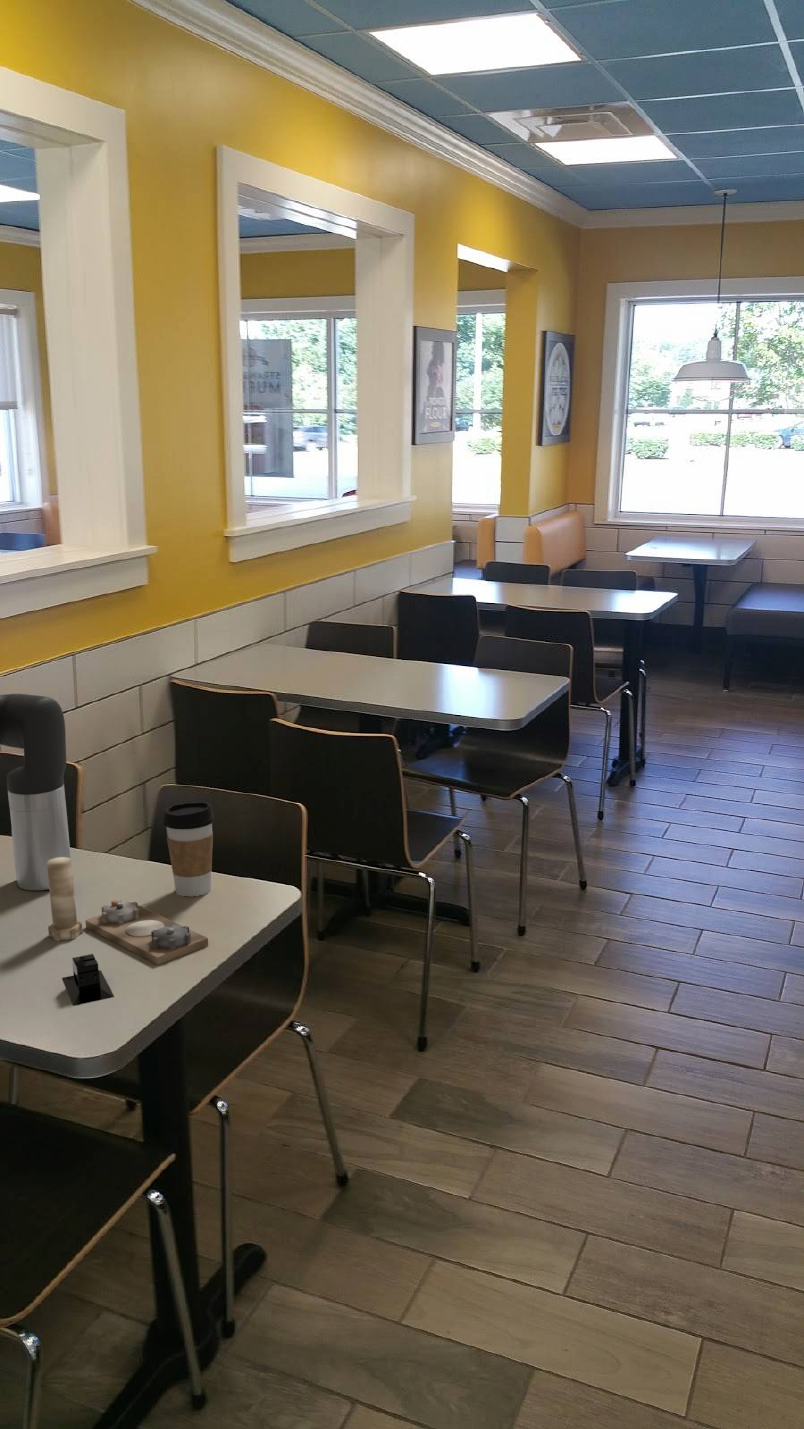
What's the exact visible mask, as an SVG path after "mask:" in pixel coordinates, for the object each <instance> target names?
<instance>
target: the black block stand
mask: <svg viewBox="0 0 804 1429" xmlns="http://www.w3.org/2000/svg"><path fill="white" fill-rule="evenodd" d="M71 959H72V972H73V975H68V976H65V977H62V978H61V980H62V982H63V985H64V987H65V991H66V993H67V995H68V997H69V999H70V1002H71V1004H72V1006H74V1007H75V1006H80V1005H84V1004H89V1003H93V1002H99V1001H102V1000H107V999H112V998H115V995H114V993H113V991H112V989H111V987H110V986H109V983H108V982H107V979H106V978H105V976H104V974H103V972H102V970H101V969H99V963H98V961H97V959H96V957H95V955H94V954H93V953H90V954H85V955H80V956H75V957H72V958H71Z"/></svg>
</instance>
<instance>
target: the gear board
mask: <svg viewBox="0 0 804 1429" xmlns="http://www.w3.org/2000/svg"><path fill="white" fill-rule="evenodd" d="M85 927H86V928H87V929H88V930H90V931H92V932H94V933H95V934H96V933H97V934H98V935H100V936H102V937H103V938H105V939H107V940H109V941H111V942H113V943H115V944H118V945H119V946H121V947H123V948H125V949H127V950H129V951H130V952H132V953H134V954H135V955H138V956H140V957H142V958H143V959H146V960H147V961H149V962H152V963H153V964H155V965H157V966H159V965H161V964H164V963H167V962H169V961H172V960H174V959H177V958H179V957H182V956H185V955H187V954H190V953H193V952H195V951H197V950H200V949H203V948H205V947H208V946H209V938H208V937H207V936H204V935H202V934H200V933H198V932H197V931H194V930H192V929H190V927H189V926H187V925H184V926H183V925H181V924H179V923H177V922H175V921H173V920H171V919H168V918H166V917H164V916H162V915H160V914H158V913H155V912H153V911H152V910H150V909H148V908H145V907H143V906H141V905H139V904H138V902H137V901H133V902H129V901H123V900H113V901H111V902H110V904H107V905H103V906H101V914H100V915H96V916H94V917H91V918H87V919H86V920H85Z"/></svg>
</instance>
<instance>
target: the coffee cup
mask: <svg viewBox="0 0 804 1429" xmlns="http://www.w3.org/2000/svg"><path fill="white" fill-rule="evenodd" d="M163 814H164V815H163V819H162V820H163V825H164V827H166V841H167V847H168V853H169V858H170V864H171V865H170V866H171V870H172V874H173V881H174V888H175V893H176V894H177V895H178V896H180V895H181V896H180V897H184V896H189V897H188V898H194V897H193V896H196V897H200V896H199V895H201V896H204V895H207V894H208V893H210V892H209V891H211V890H212V868H213V865H212V864H213V862H212V861H213V846H214V845H213V841H214V840H213V839H214V838H213V837H214V831H213V823H214V821H215V815H214V812H213V807H212V804H211V803H210V802H208V801H192V802H191V801H190V802H181V803H175V804H172V805H170V806H168V807H166V808H165V809H164V813H163ZM190 896H192V897H190Z"/></svg>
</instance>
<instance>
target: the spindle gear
mask: <svg viewBox="0 0 804 1429" xmlns="http://www.w3.org/2000/svg"><path fill="white" fill-rule="evenodd" d="M72 862H73V861H72V858H71V859H70V858H67V857H59V858H54V859H51V860H49V861H48V862H47V869H48V880H49V889H48V890H49V900H50V907H51V908H50V909H51V918H52V920H51V921H52V923H51V924H50V925H48V928H47V929H48V938H51V939H53V940H54V941H55V942H56V941H57V942H60V941H67V940H75V939H77V937H79V935H80V934H83V922H82V921H80V920H78V918H77V908H76V897H75V887H74V885H75V884H74V876H73V875H74V873H73V865H72Z"/></svg>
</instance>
